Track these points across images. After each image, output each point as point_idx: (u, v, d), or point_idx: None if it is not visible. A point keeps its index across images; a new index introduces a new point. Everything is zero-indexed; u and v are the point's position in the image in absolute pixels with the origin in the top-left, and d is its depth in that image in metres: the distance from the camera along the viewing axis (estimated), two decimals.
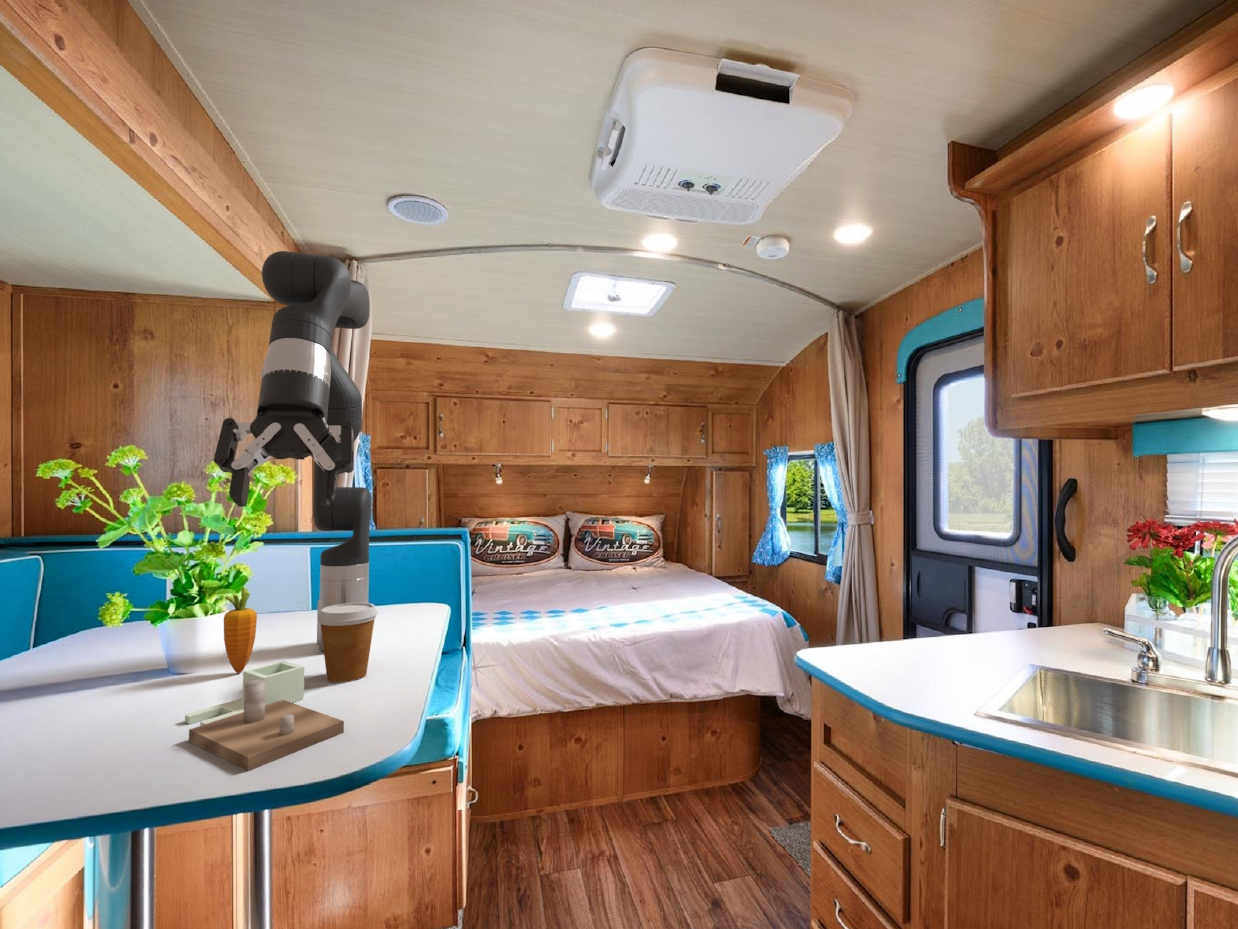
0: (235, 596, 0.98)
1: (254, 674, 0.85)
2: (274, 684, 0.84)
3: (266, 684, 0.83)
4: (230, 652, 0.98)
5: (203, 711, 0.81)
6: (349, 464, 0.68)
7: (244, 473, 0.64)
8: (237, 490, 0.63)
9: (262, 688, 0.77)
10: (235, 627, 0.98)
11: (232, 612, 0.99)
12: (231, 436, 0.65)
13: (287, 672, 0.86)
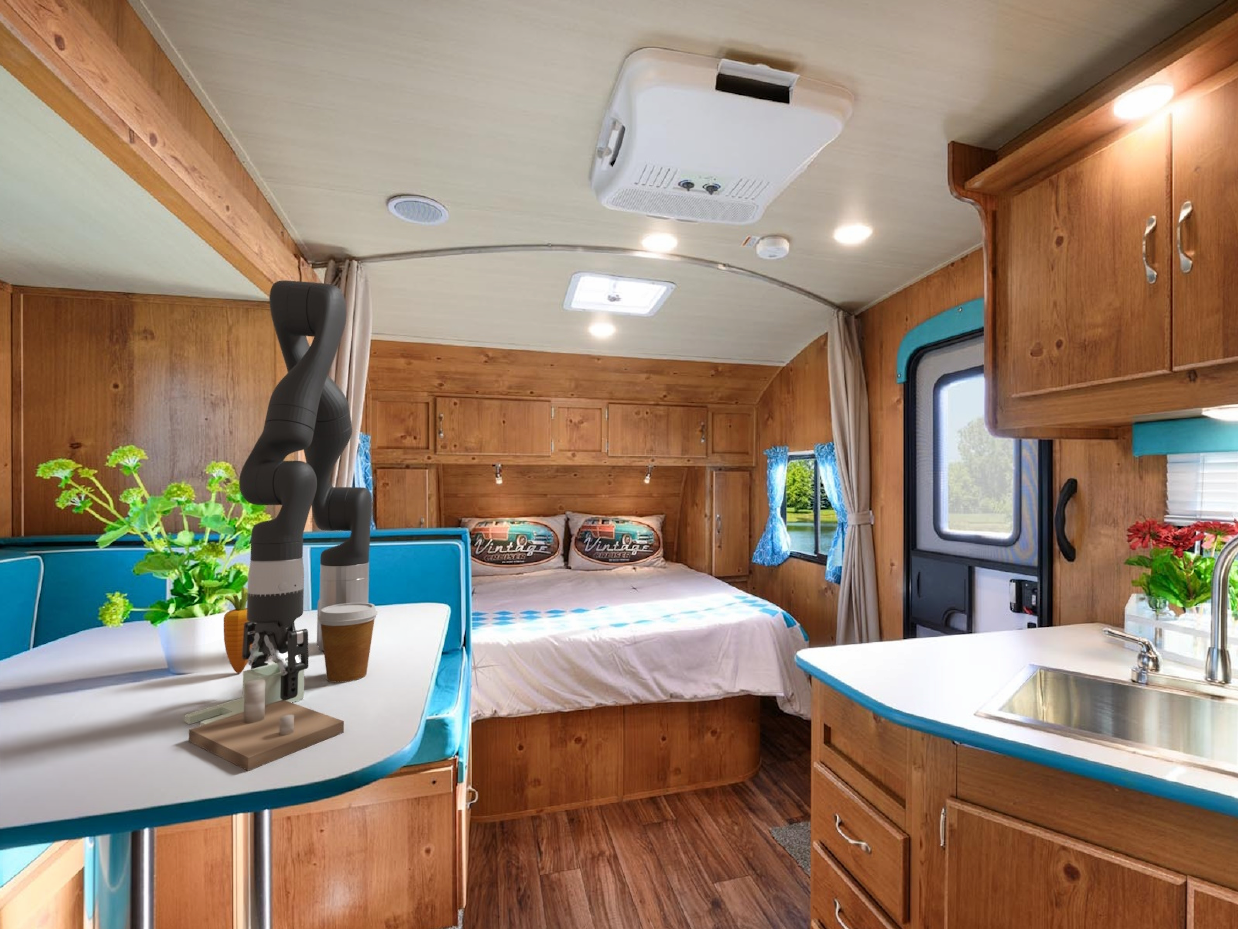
0: (235, 596, 0.98)
1: (254, 674, 0.85)
2: (274, 684, 0.84)
3: (266, 684, 0.83)
4: (230, 652, 0.98)
5: (203, 711, 0.81)
6: (292, 672, 0.83)
7: (253, 668, 0.88)
8: None
9: (262, 688, 0.77)
10: (235, 627, 0.98)
11: (232, 612, 0.99)
12: (247, 637, 0.89)
13: None
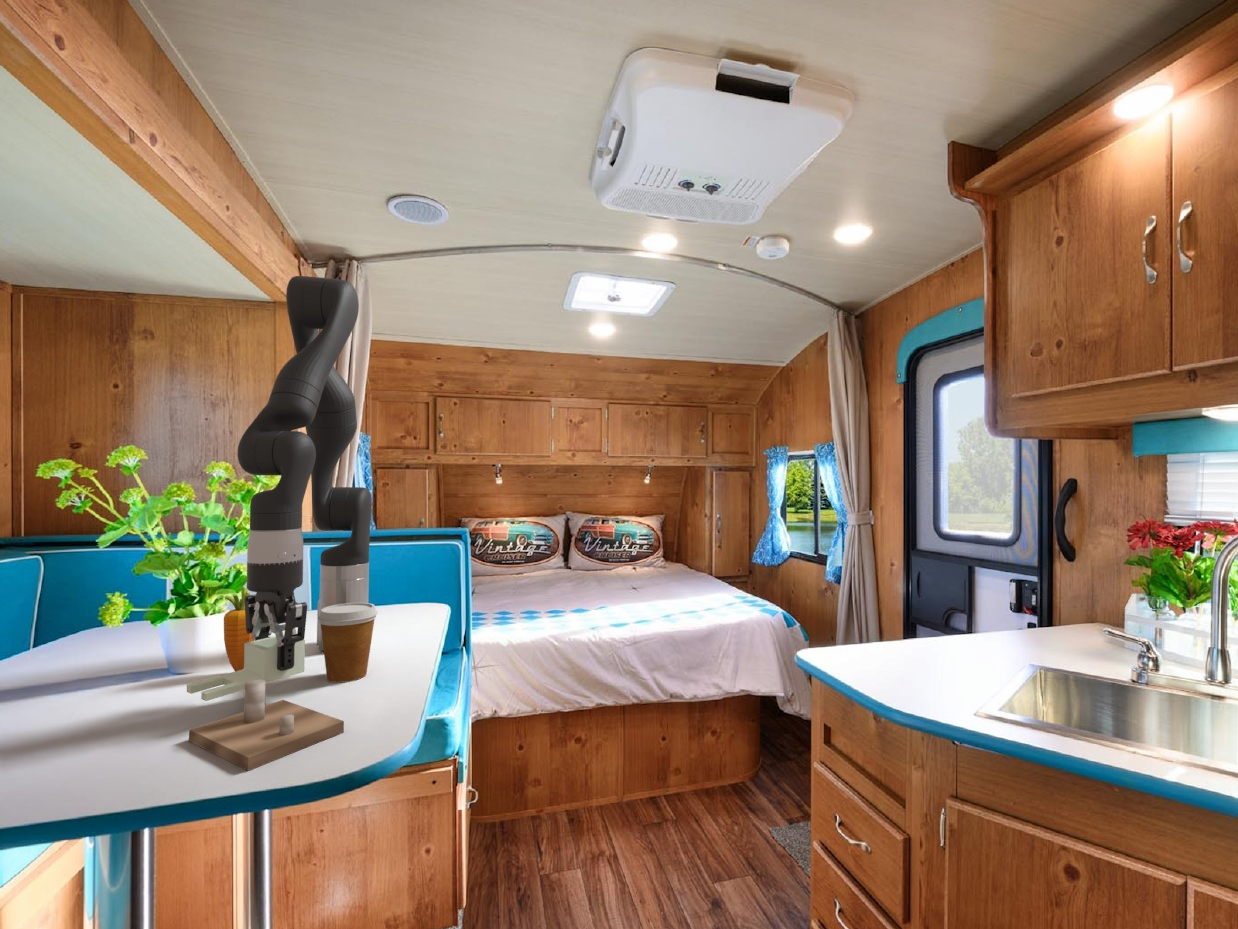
0: (235, 596, 0.98)
1: (255, 646, 0.85)
2: (275, 656, 0.85)
3: (266, 656, 0.84)
4: (230, 652, 0.98)
5: (204, 682, 0.81)
6: (288, 643, 0.84)
7: None
8: None
9: (262, 688, 0.77)
10: (235, 627, 0.98)
11: (232, 612, 0.99)
12: (249, 610, 0.89)
13: None
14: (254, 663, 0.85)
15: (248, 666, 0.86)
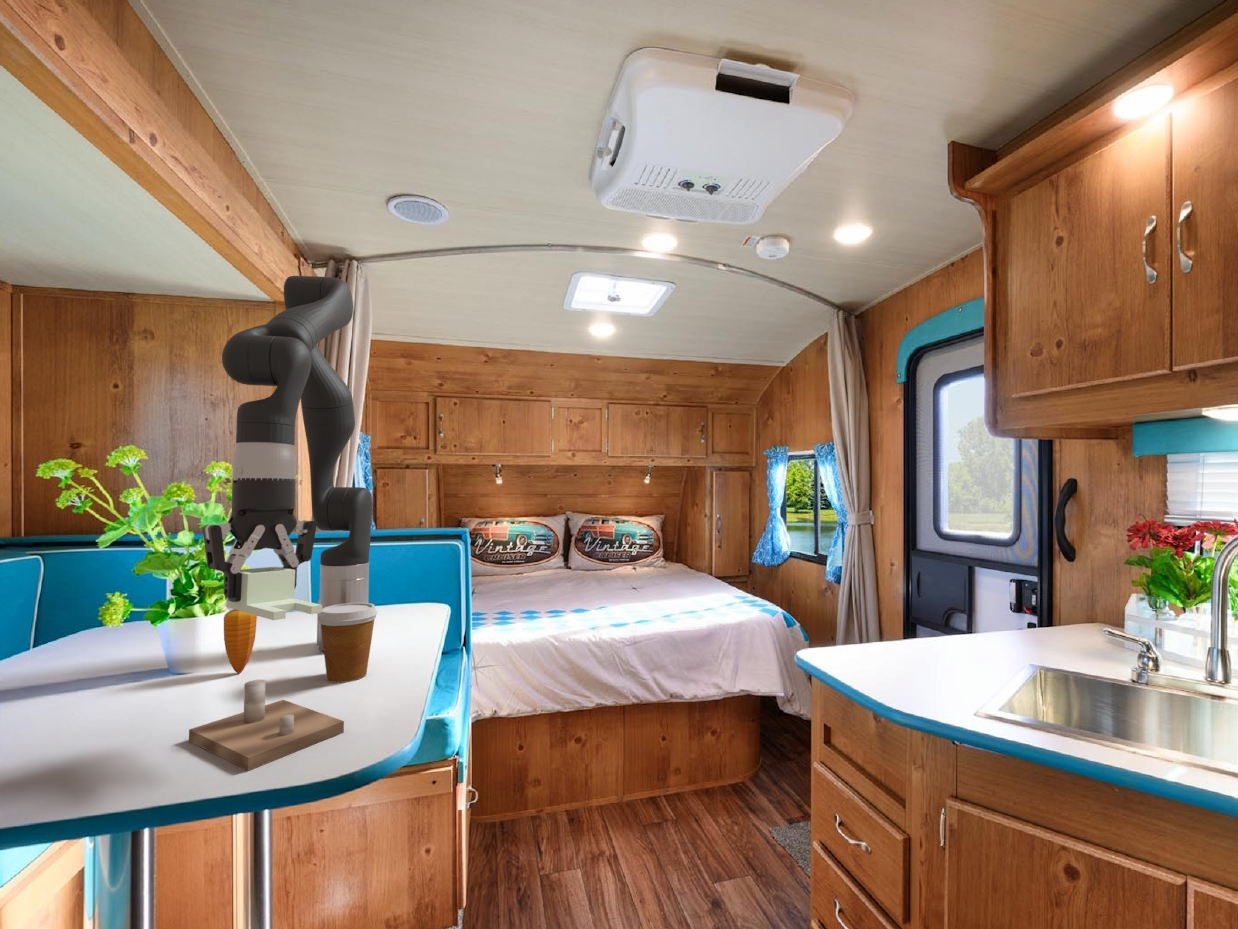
0: None
1: (271, 572, 0.76)
2: None
3: None
4: (230, 652, 0.98)
5: (275, 609, 0.71)
6: (309, 560, 0.82)
7: (241, 575, 0.75)
8: (237, 592, 0.74)
9: (262, 688, 0.77)
10: (235, 627, 0.98)
11: (232, 612, 0.99)
12: (222, 542, 0.73)
13: (283, 568, 0.81)
14: (272, 590, 0.76)
15: (258, 598, 0.75)
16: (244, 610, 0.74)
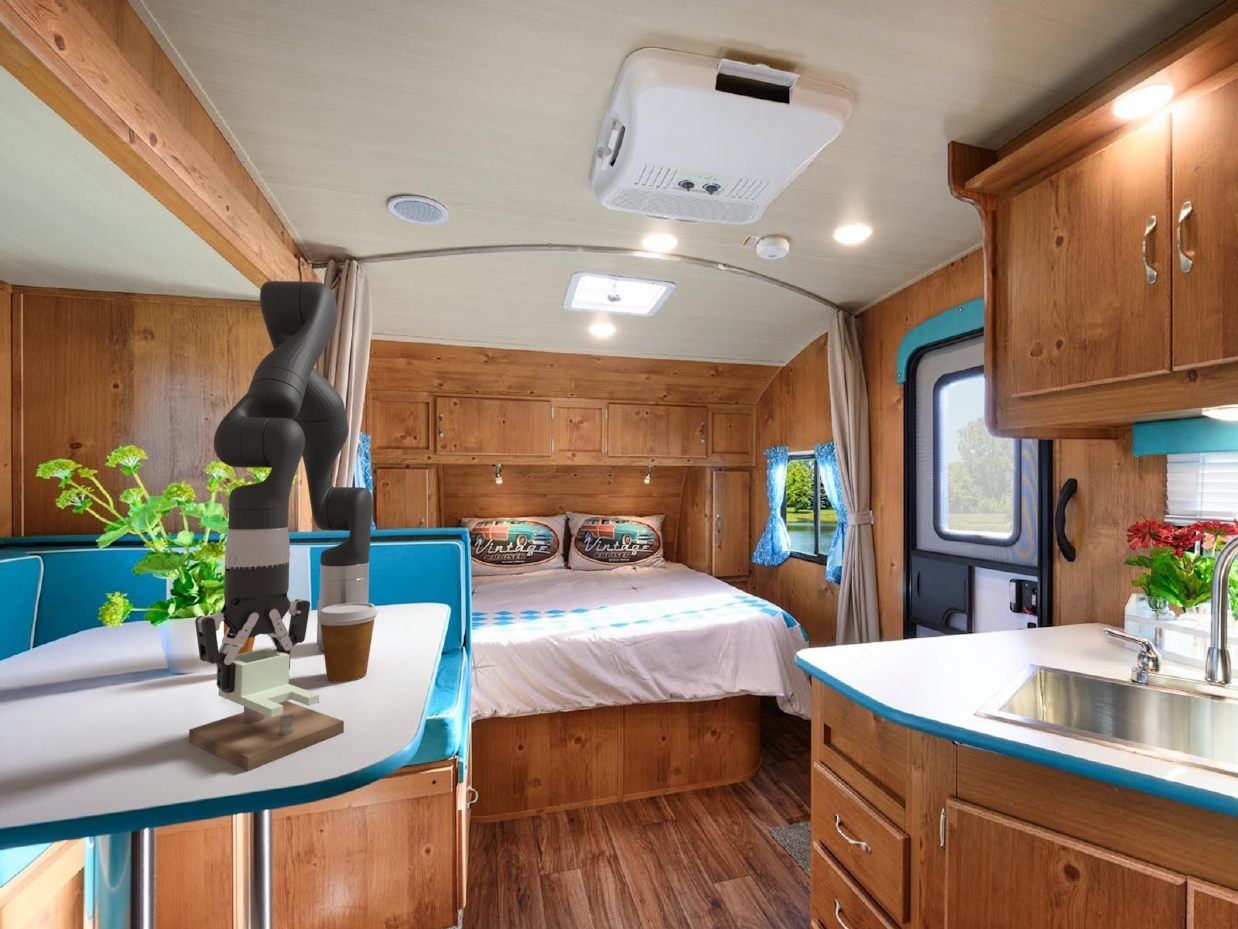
0: None
1: (266, 660, 0.75)
2: None
3: None
4: None
5: (272, 703, 0.71)
6: (302, 640, 0.81)
7: (234, 666, 0.74)
8: (231, 683, 0.73)
9: None
10: None
11: None
12: (215, 634, 0.72)
13: None
14: (267, 678, 0.75)
15: (252, 688, 0.74)
16: (238, 702, 0.73)
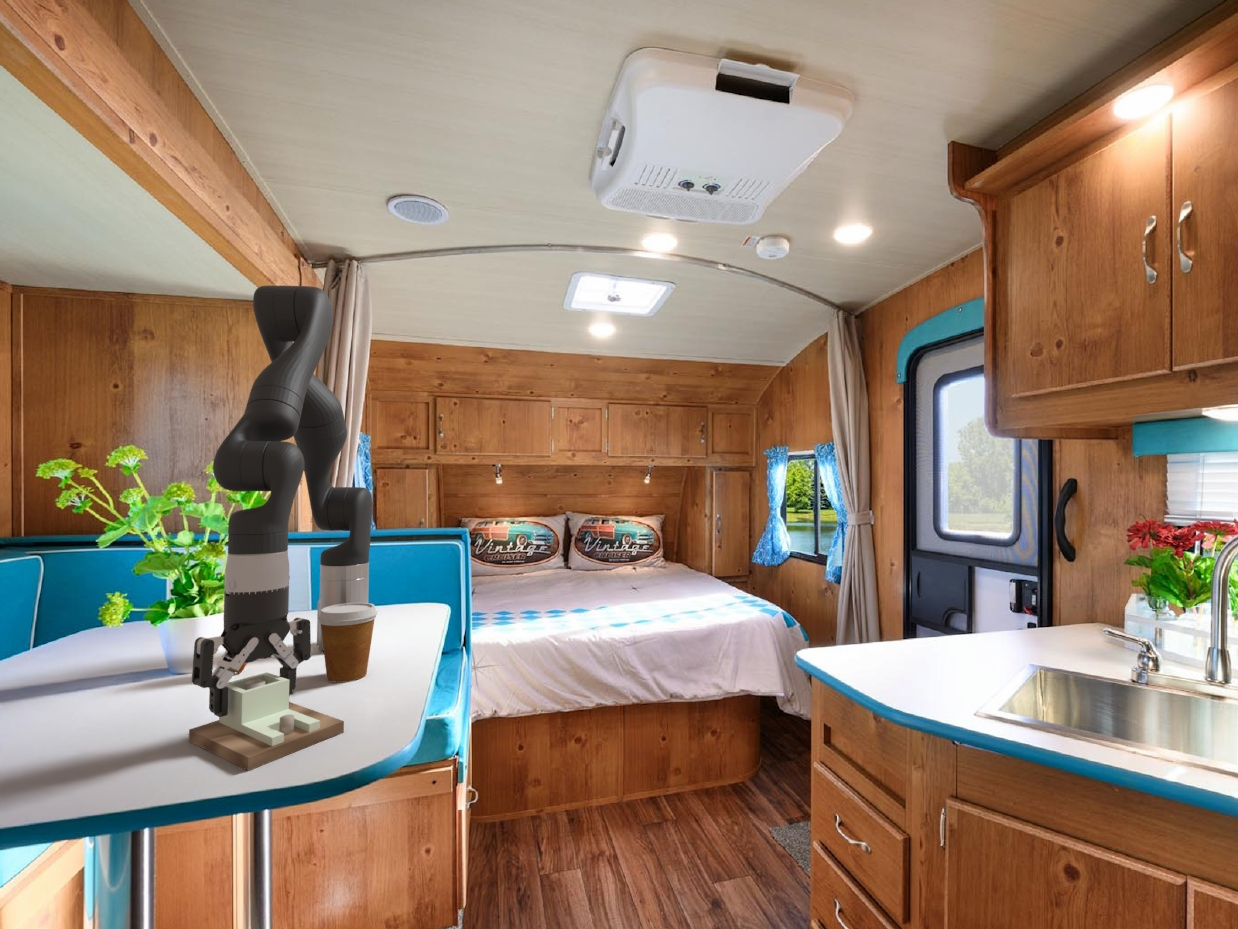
0: None
1: (265, 686, 0.75)
2: None
3: None
4: None
5: (272, 731, 0.71)
6: (308, 658, 0.82)
7: (227, 689, 0.73)
8: (223, 707, 0.72)
9: None
10: None
11: None
12: (212, 657, 0.71)
13: (275, 676, 0.80)
14: (267, 705, 0.75)
15: (253, 715, 0.74)
16: (239, 729, 0.73)
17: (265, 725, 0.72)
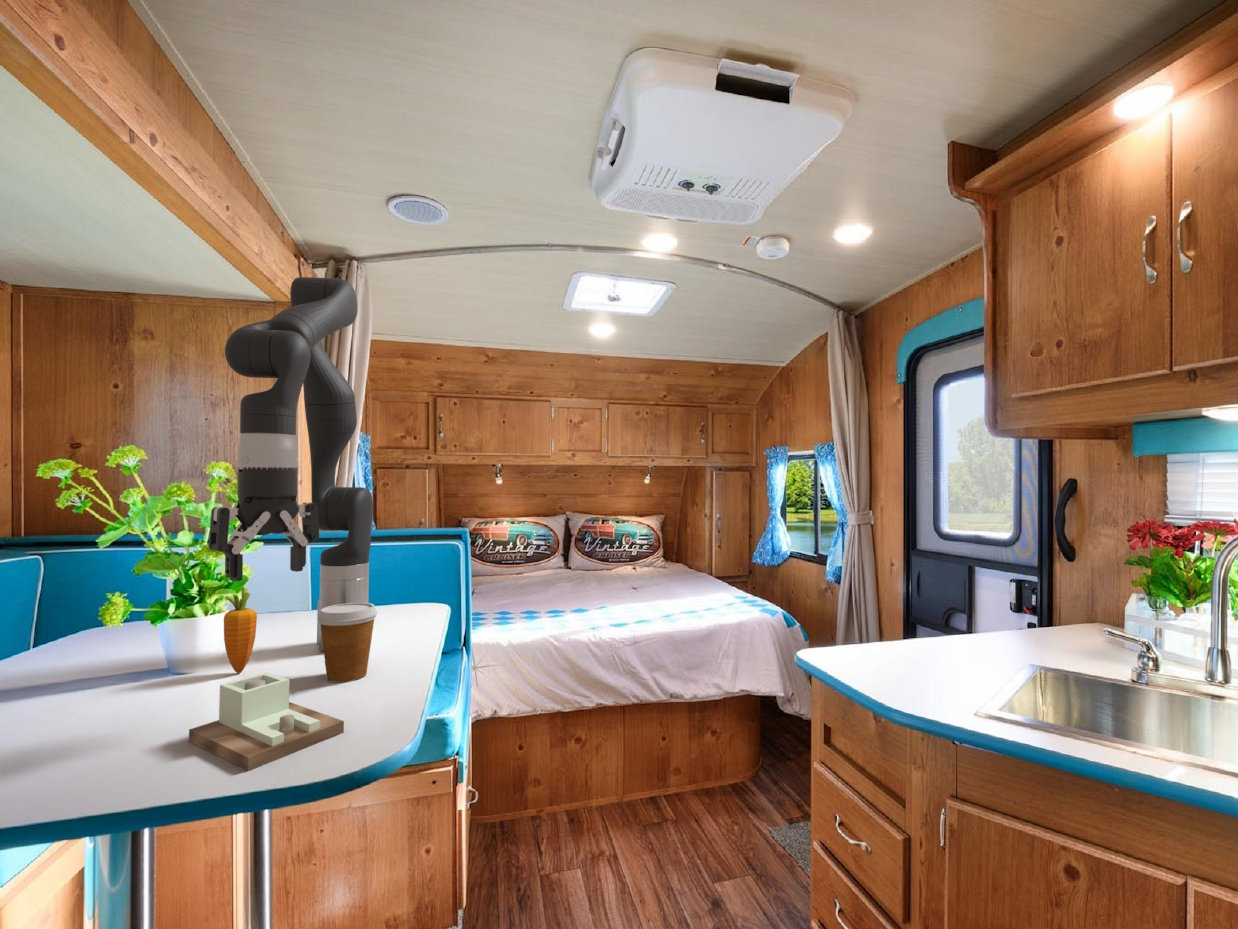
0: (235, 596, 0.98)
1: (265, 686, 0.75)
2: None
3: None
4: (230, 652, 0.98)
5: (272, 731, 0.71)
6: (317, 539, 0.88)
7: (241, 556, 0.78)
8: (238, 572, 0.78)
9: None
10: (235, 627, 0.98)
11: (232, 612, 0.99)
12: (228, 524, 0.77)
13: (275, 676, 0.80)
14: (267, 705, 0.75)
15: (253, 715, 0.74)
16: (239, 729, 0.73)
17: (265, 725, 0.72)
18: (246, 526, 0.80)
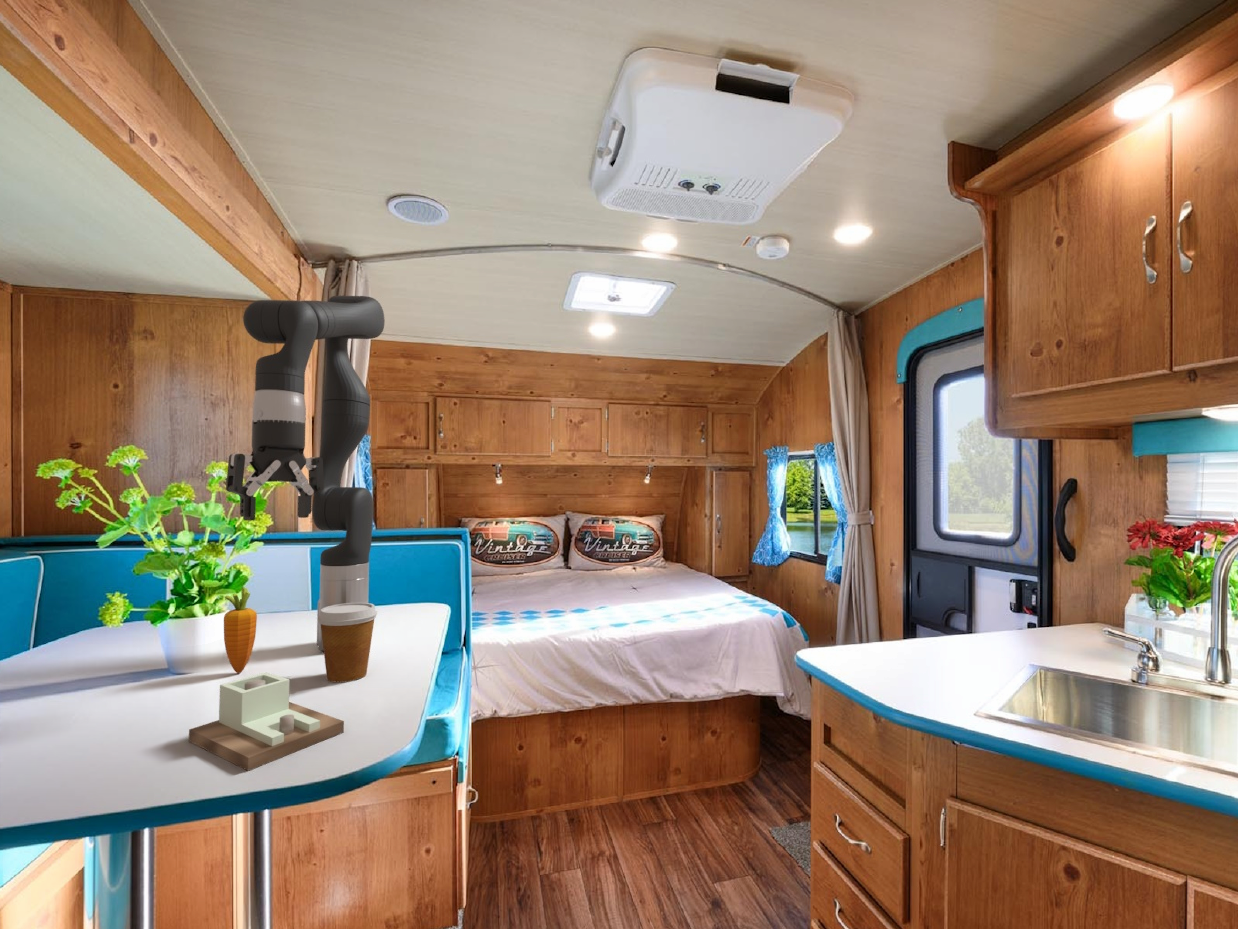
0: (235, 596, 0.99)
1: (265, 686, 0.75)
2: None
3: None
4: (230, 652, 0.98)
5: (272, 731, 0.71)
6: (322, 490, 0.97)
7: (255, 498, 0.88)
8: (252, 512, 0.87)
9: None
10: (235, 627, 0.98)
11: (232, 612, 0.99)
12: (243, 469, 0.87)
13: (275, 676, 0.80)
14: (267, 705, 0.75)
15: (253, 715, 0.74)
16: (239, 729, 0.73)
17: (265, 725, 0.72)
18: (259, 473, 0.90)
